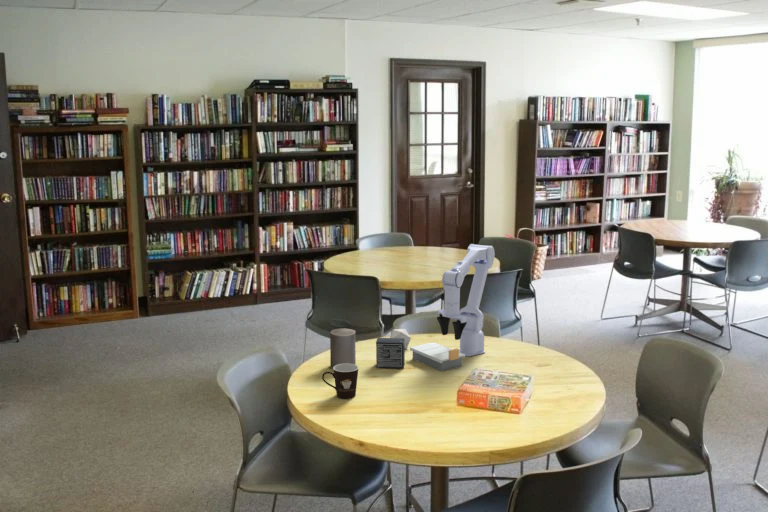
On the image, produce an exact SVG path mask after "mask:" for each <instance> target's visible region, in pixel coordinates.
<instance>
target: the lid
mask: <svg viewBox="0 0 768 512" xmlns="http://www.w3.org/2000/svg"><path fill="white" fill-rule="evenodd" d="M459 350H460V348H459V349H458V348H453V349H452V348H450V347H447V346H445V345H442V344H439V343H436V342H434V341H433V342H428V343H424V344H418V345H415V346H410V347H409V351H411V352H412V353H413V352H415V353H418V354H420V355H423V356H425V357H427V358H430V359H432V360H434V361H437V362H439V363H442V361H446V360H455V359H459V357H462V359H463V358H466V356H465V354H462V353H460V352H459Z"/></svg>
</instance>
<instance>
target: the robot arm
mask: <svg viewBox="0 0 768 512" xmlns="http://www.w3.org/2000/svg"><path fill="white" fill-rule="evenodd" d="M495 255H496V254H495V248H494V247H493V245H484V244H483V245H481V244H474V243H470V244H469V245H468V247H467V250H466V255H465V256H464V257H463V259H462V260H458V261H457V262H456V263H455V264H454V266H453V267H451V269H450V270H446V271H444V273H443V274H442V279H441V283H442V285H443V287H442V289H443V290H444V306H443V307H444V309H438V310H437V315H438V316H436V320H437V322H438V324H439V326H440V327H439V328H440V330H441V335H442V336H448V334H449V325H450V322H451V321H450V320H454V321H452V327H453V330H454V331H453V332H454V339H455V341H458V340H459V352H460V353H462V354H465V357H471V356H476V355H481V354H485V353H486V351H485V334H484V331H482V329H483V327H484V318H485V317H484V314H483V311H481V310H480V309H479V308H480V304H481V301H482V298H483V297H482V296H483V293H484V288H485V284H486V281H487V276H488V274H489V273H488V272H489V269H491V268H492V267H493V264H494V260H495ZM471 266H472V267H474V269H475V270H474V274H473V279H472V282H471V286H470V290H469V294H468V298H467V302H466V305H465V306H464V307H462V308H460V307H461V306H460V304H461V303H460V302H461V301H460V300H461V287H462V285H463V284H464V283H463V282H464V280H465V277H466V276H467V274H469V272H470V270H471Z"/></svg>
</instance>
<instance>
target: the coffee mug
mask: <svg viewBox="0 0 768 512" xmlns="http://www.w3.org/2000/svg"><path fill="white" fill-rule="evenodd" d="M326 374H330V375H331V376H332V378H333V380H334V385H335V386H334V385H333V384H331V383H329V382H327V381H326V379H325V378H324V377H325V375H326ZM358 376H359V366H358V365H357V364H356V365H354V364H338V365H335V366H334V367H333V369H332V372H331V371H325V372H323V374H322V377H321V379H322V381H323V382H324V383H325V384H326V385H328V386H329V387H332V388H333V389H334V390H335V392H336V397H337V398H338V399H341V400H350V399H351V400H352V399H354V398H355V397H356V394H357V384H358Z"/></svg>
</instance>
